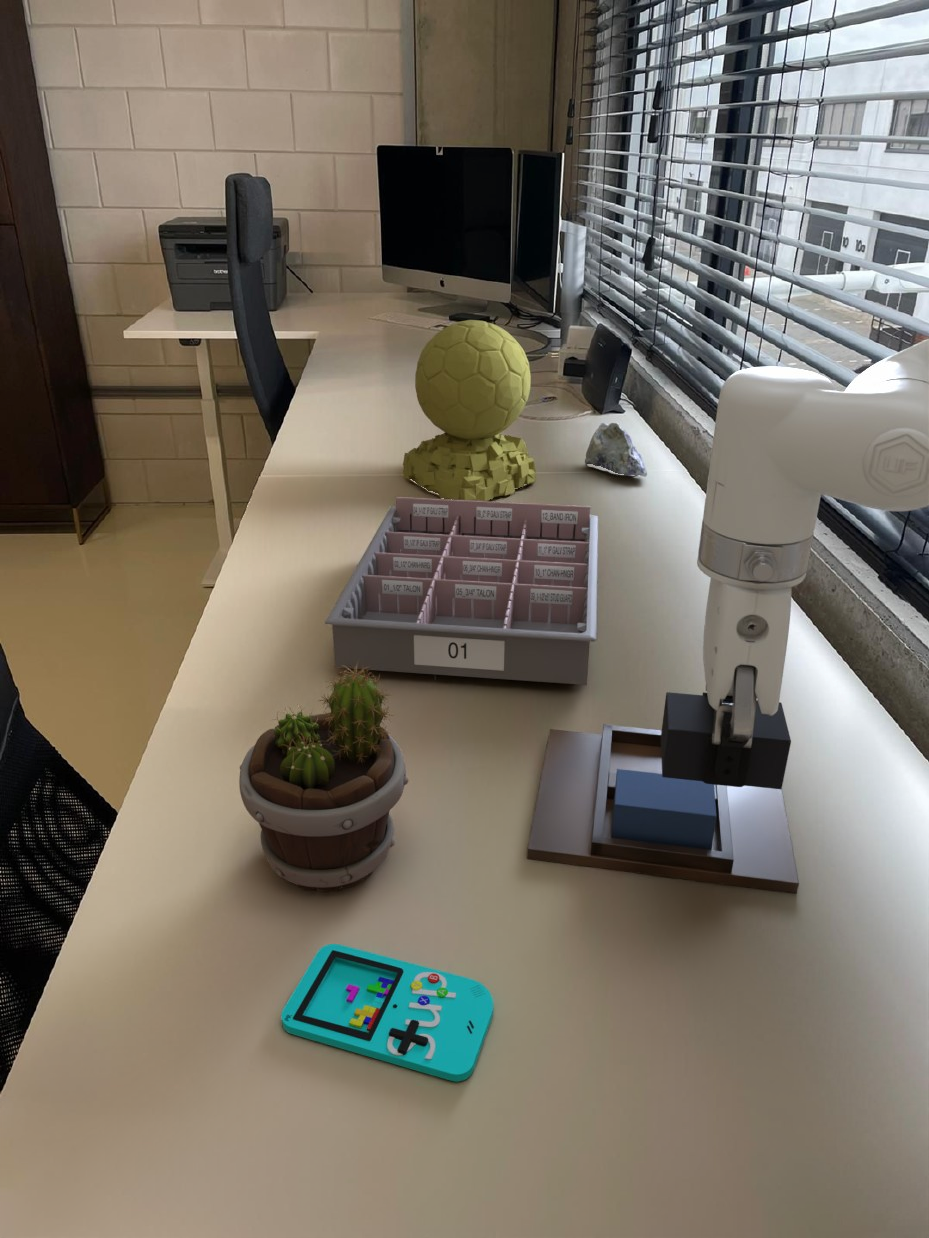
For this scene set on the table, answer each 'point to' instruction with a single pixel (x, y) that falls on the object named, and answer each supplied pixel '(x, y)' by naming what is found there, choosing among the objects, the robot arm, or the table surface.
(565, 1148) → the table surface
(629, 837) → the blue block
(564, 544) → the organizer tray
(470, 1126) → the table surface
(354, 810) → the flowerpot
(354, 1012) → the handheld gaming console
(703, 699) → the black rectangular block
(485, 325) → the trophy
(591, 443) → the mineral rock
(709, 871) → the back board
